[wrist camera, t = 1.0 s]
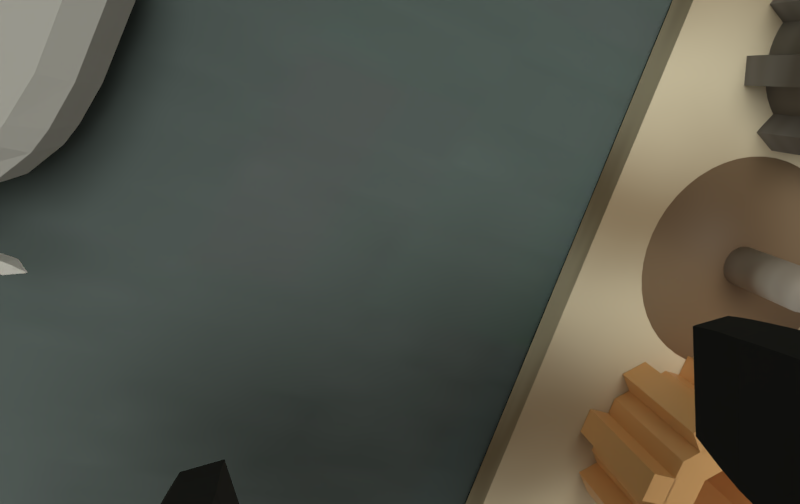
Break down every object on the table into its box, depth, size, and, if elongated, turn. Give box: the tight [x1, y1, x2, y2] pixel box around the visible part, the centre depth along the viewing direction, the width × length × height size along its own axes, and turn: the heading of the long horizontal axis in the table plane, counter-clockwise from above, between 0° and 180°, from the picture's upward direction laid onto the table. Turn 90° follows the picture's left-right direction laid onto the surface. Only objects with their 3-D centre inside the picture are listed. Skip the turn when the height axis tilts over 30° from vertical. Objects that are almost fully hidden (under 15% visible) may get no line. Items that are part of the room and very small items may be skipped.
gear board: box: [466, 0, 800, 504], centre depth 19 cm, size 20×10×6 cm, turn 160°
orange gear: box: [579, 356, 752, 504], centre depth 20 cm, size 6×6×4 cm
